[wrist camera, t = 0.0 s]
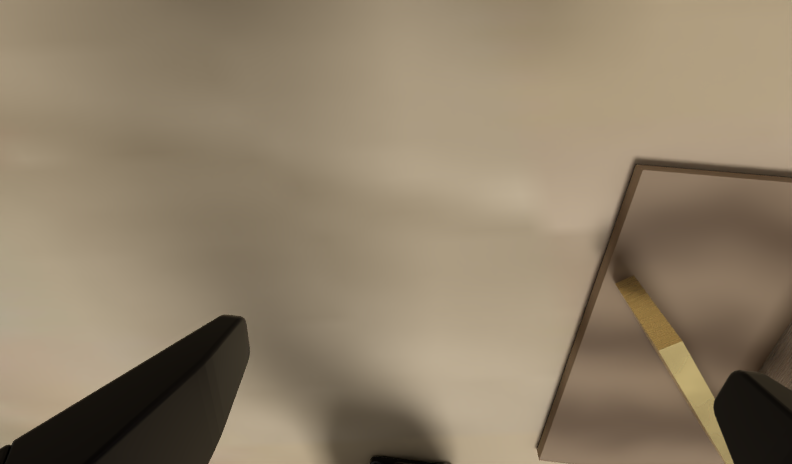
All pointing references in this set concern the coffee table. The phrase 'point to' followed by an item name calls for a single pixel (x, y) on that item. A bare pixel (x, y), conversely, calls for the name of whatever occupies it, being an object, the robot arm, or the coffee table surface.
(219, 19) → the coffee table surface
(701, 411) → the block
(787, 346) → the steel leaf
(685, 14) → the coffee table surface
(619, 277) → the hinge board
